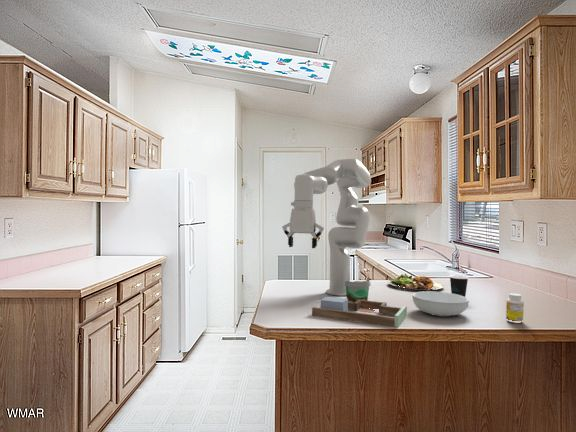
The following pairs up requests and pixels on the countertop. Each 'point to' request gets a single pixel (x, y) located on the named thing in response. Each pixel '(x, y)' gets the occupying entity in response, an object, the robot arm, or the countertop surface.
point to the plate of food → (415, 282)
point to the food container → (357, 290)
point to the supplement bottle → (514, 307)
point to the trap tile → (366, 310)
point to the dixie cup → (458, 284)
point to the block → (334, 303)
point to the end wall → (400, 316)
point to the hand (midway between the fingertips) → (302, 247)
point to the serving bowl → (440, 303)
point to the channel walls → (361, 316)
